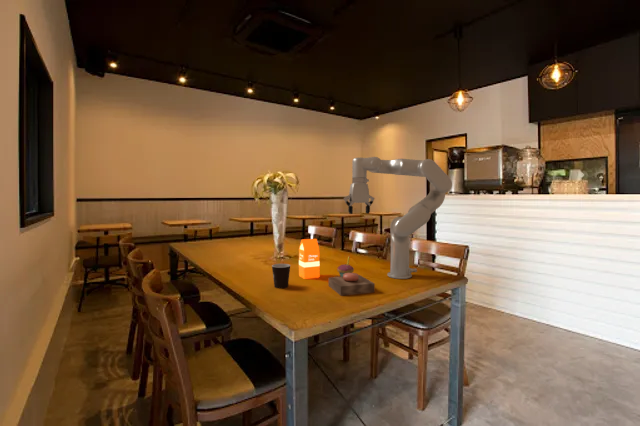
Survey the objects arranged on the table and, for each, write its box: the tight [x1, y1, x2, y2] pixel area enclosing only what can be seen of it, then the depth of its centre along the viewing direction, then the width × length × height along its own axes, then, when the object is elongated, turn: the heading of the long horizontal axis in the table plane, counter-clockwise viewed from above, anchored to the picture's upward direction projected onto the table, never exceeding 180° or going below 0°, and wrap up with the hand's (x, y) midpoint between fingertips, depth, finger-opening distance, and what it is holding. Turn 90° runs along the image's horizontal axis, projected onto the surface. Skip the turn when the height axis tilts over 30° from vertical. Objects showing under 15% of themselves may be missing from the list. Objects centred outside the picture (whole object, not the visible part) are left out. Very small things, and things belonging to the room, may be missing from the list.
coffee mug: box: [271, 263, 291, 289], centre depth 155 cm, size 12×9×10 cm
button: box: [343, 272, 359, 281], centre depth 149 cm, size 7×7×2 cm
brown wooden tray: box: [328, 274, 376, 296], centre depth 149 cm, size 16×16×4 cm
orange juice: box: [298, 238, 321, 280], centre depth 172 cm, size 8×9×20 cm
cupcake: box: [336, 255, 355, 277], centre depth 169 cm, size 9×8×12 cm
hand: (359, 213), depth 173 cm, fingers open, 9 cm apart
